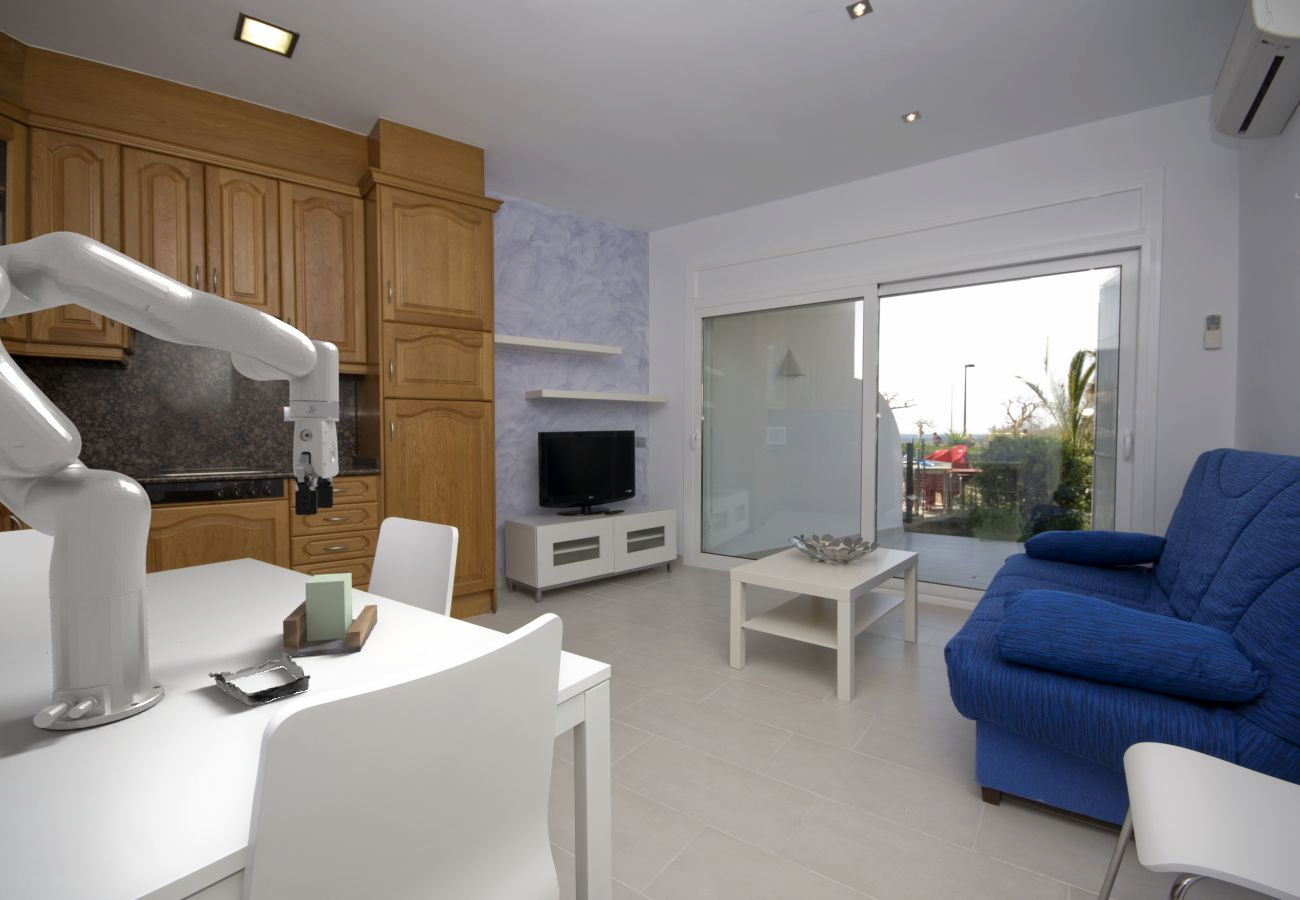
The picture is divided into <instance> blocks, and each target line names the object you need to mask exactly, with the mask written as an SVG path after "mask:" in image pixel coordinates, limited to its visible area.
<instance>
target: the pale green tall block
mask: <svg viewBox="0 0 1300 900" xmlns="http://www.w3.org/2000/svg"><path fill="white" fill-rule="evenodd" d="M352 576H353V575H352V572H346V573H344V572H343V573H326V574H323V573H322V574H314V575H313V576H312V577H311V578H310V579H308V581H306V582H305V600H306V627H307V641H317V640H330V639H342V638H346V636H347V632H348V630H349V629H350V627H351V626H352V619H353V589H352V588H353V587H352V586H353V582H352V579H353V578H352Z"/></svg>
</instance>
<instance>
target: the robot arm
mask: <svg viewBox="0 0 1300 900" xmlns="http://www.w3.org/2000/svg"><path fill="white" fill-rule="evenodd" d="M71 304H75V305H77V306H80V307H82V308H84V309H87V310H89V311H92V312H94V313H97V314H99V315H102V316H104V317H106V318H108V319H111V320H114V321H116V322H118V323H120V324H123V325H125V326H128V327H129V328H130V327H131V328H133V329H135V330H137V331H139V332H142V333H144V334H146V335H150V337H154V338H156V339H159V340H162V341H167V342H171V343H175V344H180V345H187V346H196V347H197V346H198V347H206V348H211V349H216V350H220V351H224V352H229V353H230V360H231V363H232V365H233V367H234V369H236V371H237V372H239V374H241V375H242V376H244V377H246V378H248V379H250V380H255V381H260V382H261V381H278V380H279V381H281V380H282V381H283V380H286V381H288V383H289V421H291V422H294V430H293V431H294V432H293V433H294V434H293V446H292V447H293V450H292V452H293V453H292V457H293V458H292V461H293V462H292V464H293V466H292V467H293V474H294V481H295V485H294V490H295V492H294V495H295V497H294V498H295V499H294V501H295V503H294V506H295V507H294V508H295V510H294V511H295V514H296V516H313V515H314V516H315V515H317V514H318V509H331V508H333V507H334V480H333V479H334V477H336V476H337V475H338V474H339V472H340V470H339V468H340V467H339V451H338V449H339V448H338V435H337V434H338V433H337V425H336V422H340V403H339V402H340V400H339V399H340V394H339V393H340V392H339V390H340V382H339V381H340V380H339V379H340V377H339V376H340V375H339V373H340V371H339V365H340V361H339V360H340V359H339V357H340V355H339V348H338V347H337V346H336V345H335V344H334V343H332V342H329V341H325V340H317V339H311V338H309V337H308V336H307V335H305V333H303V332H301V331H300V330H299V329H296V327H294V326H291V325H290V324H287V323H286V322H283V321H282V320H280V319H278V318H275V316H272V315H270V314H268V313H266V312H263V311H261V310H258V309H256V308H253V307H251V306H248V305H245V304H242V303H239V302H236V301H233V300H230V299H227V298H223V297H221V296H218V295H216V294H213V293H210V292H206V291H202V290H199V289H197V288H193V287H190V286H188V285H187V284H184V283H182V282H181V281H178V280H176V279H174V278H172V277H171V276H169V275H166V274H164V273H162V272H160V271H157V270H156V269H154V268H152V267H150V266H148V265H146V264H144V263H142V262H140V261H138V260H136V259H134V258H132V257H130V256H128V255H126V254H124V253H122V252H120V251H118V250H116V249H114V248H112V247H110V246H108V245H106V244H104V243H103V242H100V241H97V240H96V239H93V238H91V237H89V236H86V235H84V234H81V233H77V232H71V231H55V232H50V233H45V234H42V235H39V236H37V237H33V238H32V239H27V240H25V241H21V242H16V243H11V244H5V245H0V319H3V318H8V317H14V316H19V315H23V314H30V313H34V312H35V313H36V312H38V311H43V310H48V309H52V308H56V307H61V306H66V305H71ZM81 450H82V439H81V433H80V432H79V430H78V428H77V426H76V425H75V424H74V422H72V421H71V419H69V417H67V415H66V414H65V413H64V412H63V411H61V410H60V409H59V408H58V407H57V406H56V404H54V403H53V401H51V400H50V398H48V396H47V395H45V393H44V392H43V391H42V390H41V389H40V387H38V386H37V385H36V384H35V383H34V382H33V381H32V380H31V379H30V378H29V377H28V376H27V374H25V372H24V371H23V370H22V369H21V367H19V365H18V364H17V363H16V362H15V360H14V359H13V358H12V357H11V356H10V354H9V352H8V350H7V349H6V347H5V346H4V344H3V342H2V340H1V338H0V503H1V504H2V505H3V506H5V507H6V508H7V509H8V511H10V512H11V513H12V514H14V515H15V516H16V517H17V518H18V519H20V520H21V521H22V522H23V523H24V524H26V525H28V526H29V527H30V528H32V529H33V530H35V531H37V532H39V533H41V534H44V535H46V536H50V537H53V545H52V551H51V556H50V560H49V561H50V562H49V570H48V595H49V596H48V597H49V607H50V608H49V609H50V613H49V614H50V635H51V639H50V640H51V659H52V660H51V661H52V683H53V684H52V686H53V691H52V693H51V694H52V701H51V702H50V703H47V704H45V706H43V707H42V708H41V709H40V710H39V711H38V712H37V714H35V715H34V718H33V720H32V721H33V724H34V726H36V727H37V728H40V729H41V728H43V729H47V730H54V731H55V730H59V731H60V730H61V731H62V730H63V731H64V730H76V729H85V728H90V727H95V726H100V725H104V724H108V723H111V722H116V721H119V720H122V719H124V718H125V719H126V718H128V717H131V716H134V715H136V714H138V713H141V712H143V711H145V710H148V709H149V708H151V707H153V706H155V705H157V704H158V702H159V701H161V700H162V699H163V698H164V696H165V686H164V684H162V683H161V682H159V681H157V680H156V681H155V680H150V653H149V652H150V650H149V649H150V648H149V623H148V621H149V618H148V615H149V614H148V586H147V545H148V538H149V533H150V526H151V519H152V507H151V504H152V503H151V501H150V498H149V495H148V493H147V491H146V489H144V487H143V486H142V484H140V483H139V482H138V481H137V480H135V479H134V478H133V477H131V476H128V475H126V474H123V473H121V472H118V471H112V470H109V469H108V470H107V469H106V470H105V469H97V468H96V469H94V468H88V467H87V466H86V465H85V464H84V463H83V462H82V460H80V459H79V458H78V457H80V454H81Z"/></svg>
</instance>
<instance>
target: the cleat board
mask: <svg viewBox="0 0 1300 900" xmlns="http://www.w3.org/2000/svg"><path fill="white" fill-rule="evenodd" d="M377 624H378V604H370V605H364V607H363V608H362V610H361V612H360V613H359V615H357V618H355V619H354V618H352V626H351V627H350V629H349V630H348V632H347V636H346V638H342V639H330V640H317V641H307V627H306V599H305V600H304V601H302V602H301V603H300V605H298V606H297V607H296V608H295V609H294V610H293V611H292V612H291V613H290V614H289V615H287V617H285V618H284V619H283V621H282V633H283V634H282V635H283V636H282V637H283V638H282V639H283V653H284V652H285V653H286V654H288V655H289V656H298V657H301V656H300V655H310V656H315V655H314V654H322V655H328V654H327V653H334V654H339V653H338V652H345V653H354V652H355V651H357V652H361V651H362V649H363V648H362V647H364V646H365V644H366V642H367V641H368V639H369V637H370V635H371V634H372V632H371V631H374V629H375V627H376V625H377ZM374 626H375V627H374ZM370 633H371V634H370ZM366 640H367V641H366ZM353 651H354V652H353ZM355 653H356V652H355Z"/></svg>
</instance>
